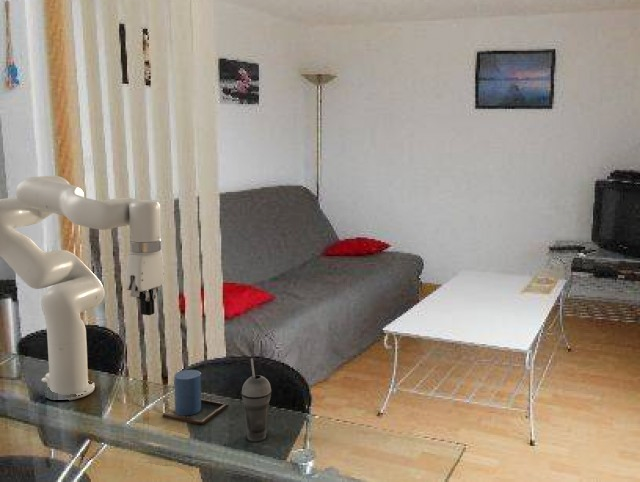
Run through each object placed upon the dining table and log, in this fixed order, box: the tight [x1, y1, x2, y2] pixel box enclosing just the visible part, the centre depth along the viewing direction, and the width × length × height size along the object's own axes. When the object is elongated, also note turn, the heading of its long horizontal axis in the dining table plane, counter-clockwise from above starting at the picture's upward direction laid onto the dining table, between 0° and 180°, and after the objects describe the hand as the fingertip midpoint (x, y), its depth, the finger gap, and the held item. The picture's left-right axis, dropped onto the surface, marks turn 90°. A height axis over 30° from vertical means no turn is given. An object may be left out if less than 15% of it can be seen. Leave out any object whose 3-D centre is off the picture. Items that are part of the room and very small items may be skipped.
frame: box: [162, 397, 229, 426], centre depth 161 cm, size 12×12×1 cm
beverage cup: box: [240, 357, 273, 442], centre depth 148 cm, size 7×7×20 cm
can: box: [173, 369, 202, 417], centre depth 161 cm, size 7×7×10 cm
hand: (147, 313), depth 162 cm, fingers closed
